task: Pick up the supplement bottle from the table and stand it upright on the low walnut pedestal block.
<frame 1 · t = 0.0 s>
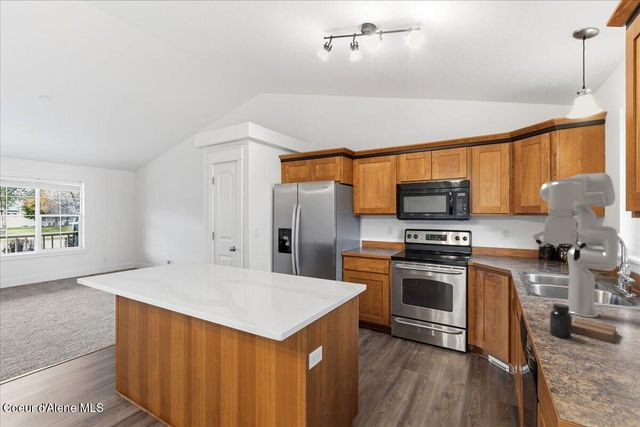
hand: (559, 258, 115), 31 cm above the countertop, fingers open, 9 cm apart
supplement bottle: (560, 335, 119), on the countertop
walnut pedestal: (592, 333, 121), on the countertop
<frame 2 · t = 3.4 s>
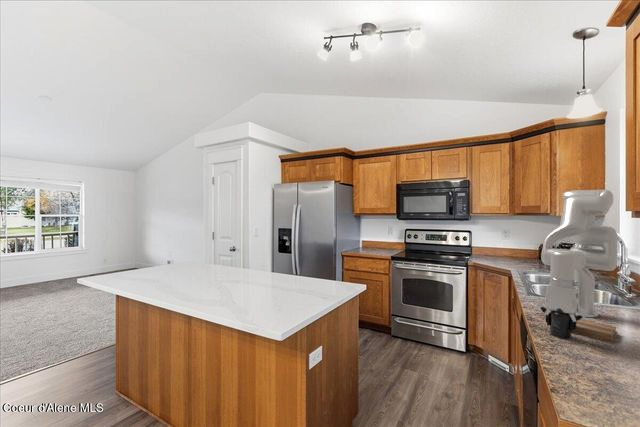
hand: (560, 327, 119), 3 cm above the countertop, fingers closed on supplement bottle, 6 cm apart
supplement bottle: (560, 335, 119), on the countertop, touching gripper
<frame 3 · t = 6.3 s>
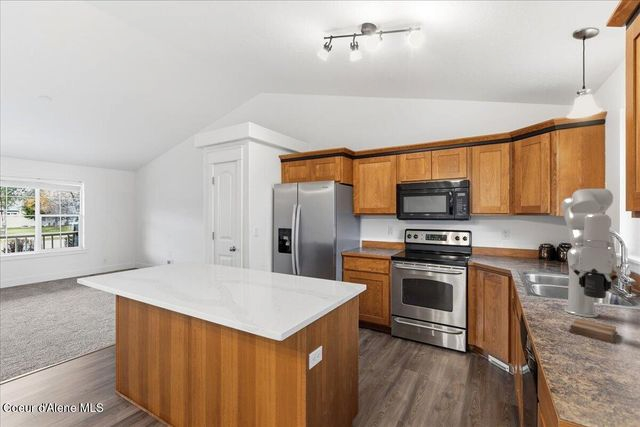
hand: (594, 288, 121), 18 cm above the countertop, fingers closed on supplement bottle, 6 cm apart
supplement bottle: (594, 296, 121), point 15 cm above the countertop, touching gripper
when the fingers open (7 cm above the countertop, at t = 9.1 s): supplement bottle stays where it is, resting on walnut pedestal.
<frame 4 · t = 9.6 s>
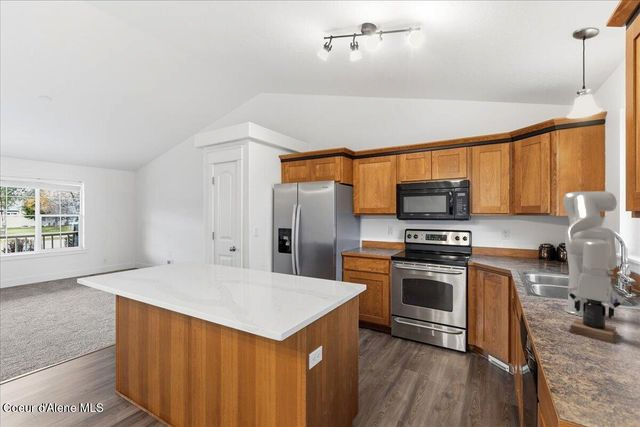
hand: (593, 313, 121), 8 cm above the countertop, fingers open, 9 cm apart
supplement bottle: (593, 326, 121), point 3 cm above the countertop, touching walnut pedestal
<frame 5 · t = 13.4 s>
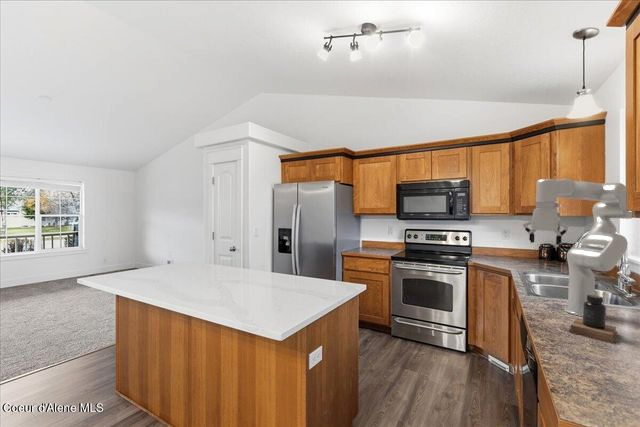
hand: (544, 243, 138), 34 cm above the countertop, fingers open, 9 cm apart
nothing on the countertop moved.
at the end: supplement bottle inside the target area on the walnut pedestal (0.2 cm from its centre), point 2.8 cm above the walnut pedestal's base; supplement bottle tilted 0°; the gripper is holding nothing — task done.
